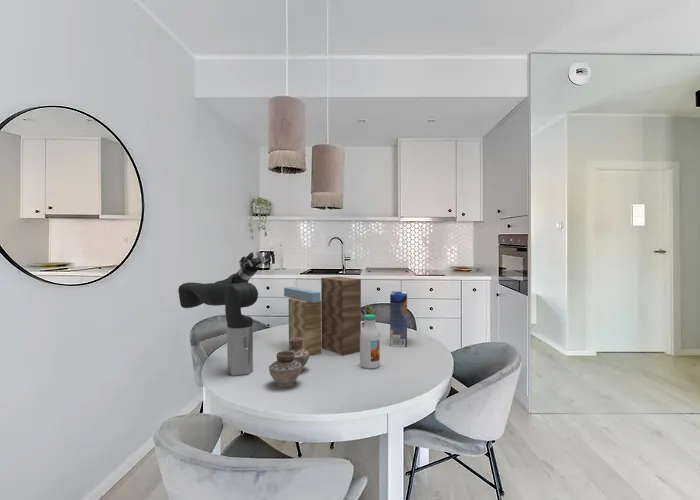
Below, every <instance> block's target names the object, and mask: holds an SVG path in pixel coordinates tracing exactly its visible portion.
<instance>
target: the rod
mask: <svg viewBox="0 0 700 500" xmlns="http://www.w3.org/2000/svg"><path fill="white" fill-rule="evenodd" d="M283 296H284V297H285V298H289V299H290V298H294V299H298V300H303V301H307V302H312V303H314V302H320V300H321V291H314V290H308V289H304V288H303V289H302V288H299V287H293V286H292V287H291V286H290V287H289V286H288V287H283Z"/></svg>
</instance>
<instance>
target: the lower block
mask: <svg viewBox="0 0 700 500" xmlns="http://www.w3.org/2000/svg"><path fill="white" fill-rule="evenodd" d="M291 338H302V339H303V342H302V348H304V349H306V350H307V351H308V352H309V353H310V354H309V357H310V356H315V355H319V354H321V353H322V335H321V299H320V302H314V303H312V302H307V301H303V300H298V299H294V298H290V297H289V298H288V350H289V349H290V348H291V344H290V341H289V340H290V339H291Z"/></svg>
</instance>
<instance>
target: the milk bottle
mask: <svg viewBox="0 0 700 500" xmlns="http://www.w3.org/2000/svg"><path fill="white" fill-rule="evenodd" d="M375 315H376V314H374V315H373V313H372V314H366V315H364V316H363V318H364V319H363V321H364V322H365V323H364V327H363V328H361V335H360V352H359V366H360V367H361V368H364V369H371V370H372V369H378V368H379V367H380V363H381V361H380V357H381V354H380V351H381V349H380V347H381V346H380V344H381V342H380V332H379V330H378V328H377V326H376V320H377V317H376V316H377V315H376V316H375ZM375 319H376V320H375Z"/></svg>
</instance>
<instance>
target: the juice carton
mask: <svg viewBox="0 0 700 500" xmlns="http://www.w3.org/2000/svg"><path fill="white" fill-rule="evenodd" d="M389 296H390V300H389V304H390V305H389V309H390V310H389V315H390V316H389V317H390V319H389V321H390V322H389V326H390V327H389V336H390V337H389V338H390V339H389V343H390V345H389V346H396V347H395V348H407V346H408V291H391V292H390V295H389Z"/></svg>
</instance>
